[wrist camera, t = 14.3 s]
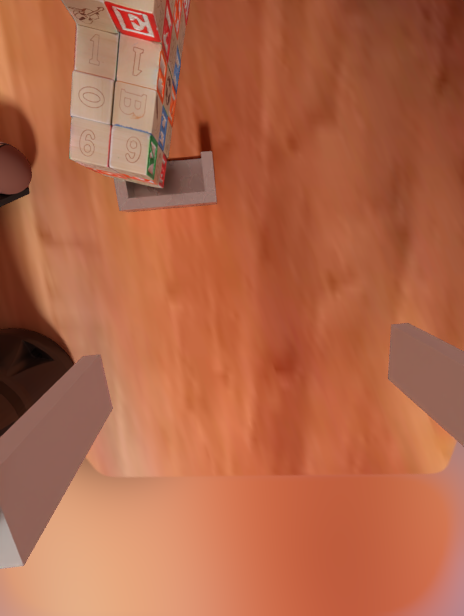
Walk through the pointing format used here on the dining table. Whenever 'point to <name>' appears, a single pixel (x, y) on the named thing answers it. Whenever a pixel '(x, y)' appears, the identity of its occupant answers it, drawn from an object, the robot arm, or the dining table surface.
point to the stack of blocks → (125, 85)
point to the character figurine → (13, 174)
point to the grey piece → (172, 187)
